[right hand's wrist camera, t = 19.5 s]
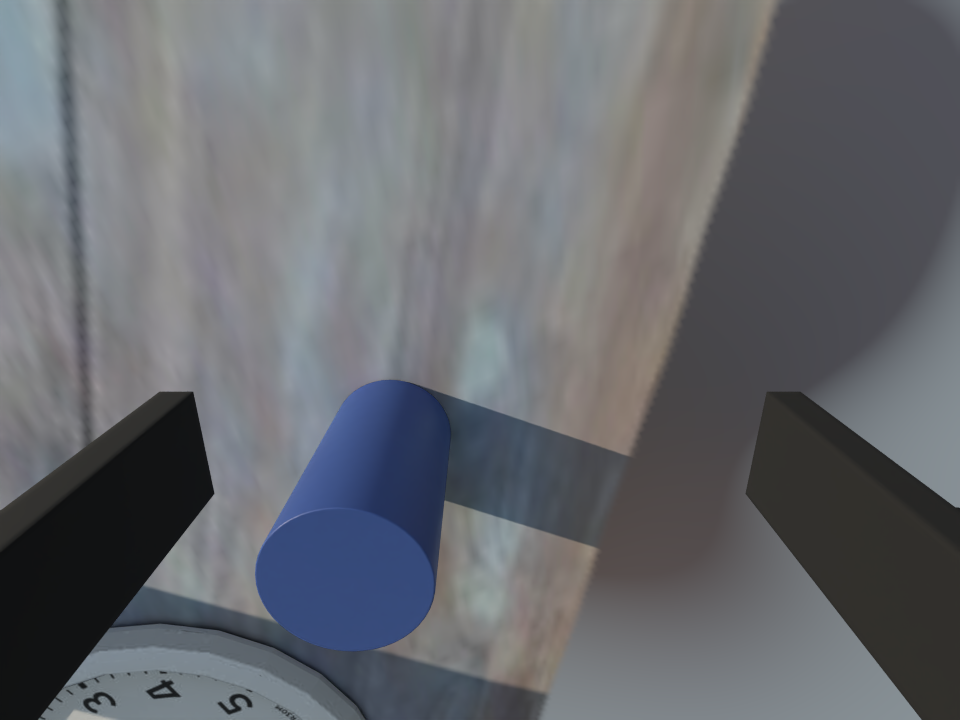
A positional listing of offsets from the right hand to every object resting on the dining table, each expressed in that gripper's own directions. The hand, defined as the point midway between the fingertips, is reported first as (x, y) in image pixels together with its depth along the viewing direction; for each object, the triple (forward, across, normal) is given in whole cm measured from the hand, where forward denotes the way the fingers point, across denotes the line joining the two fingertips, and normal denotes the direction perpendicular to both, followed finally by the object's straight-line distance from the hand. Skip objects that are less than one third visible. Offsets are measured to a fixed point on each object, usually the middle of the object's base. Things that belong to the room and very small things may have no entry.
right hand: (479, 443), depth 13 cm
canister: (+18, -5, -9) cm, 20 cm away
